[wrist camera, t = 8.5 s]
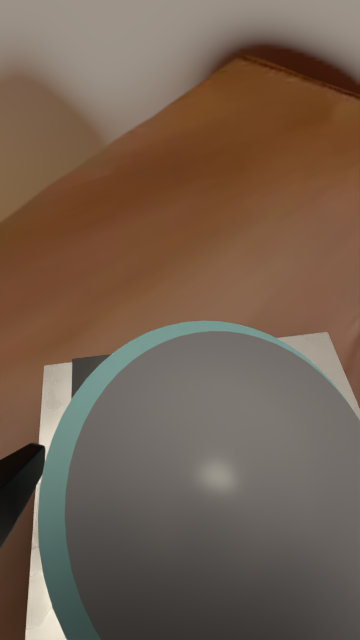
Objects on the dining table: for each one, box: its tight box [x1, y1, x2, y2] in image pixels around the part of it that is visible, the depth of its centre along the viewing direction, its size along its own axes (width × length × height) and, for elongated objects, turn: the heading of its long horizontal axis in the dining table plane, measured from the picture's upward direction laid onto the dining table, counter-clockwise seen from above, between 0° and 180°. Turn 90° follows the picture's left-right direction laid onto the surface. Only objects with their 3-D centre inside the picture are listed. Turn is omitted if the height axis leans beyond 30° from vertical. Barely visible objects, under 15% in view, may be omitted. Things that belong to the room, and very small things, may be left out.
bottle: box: [38, 321, 360, 640], centre depth 10 cm, size 6×6×13 cm
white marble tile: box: [25, 332, 360, 640], centre depth 16 cm, size 17×22×5 cm
